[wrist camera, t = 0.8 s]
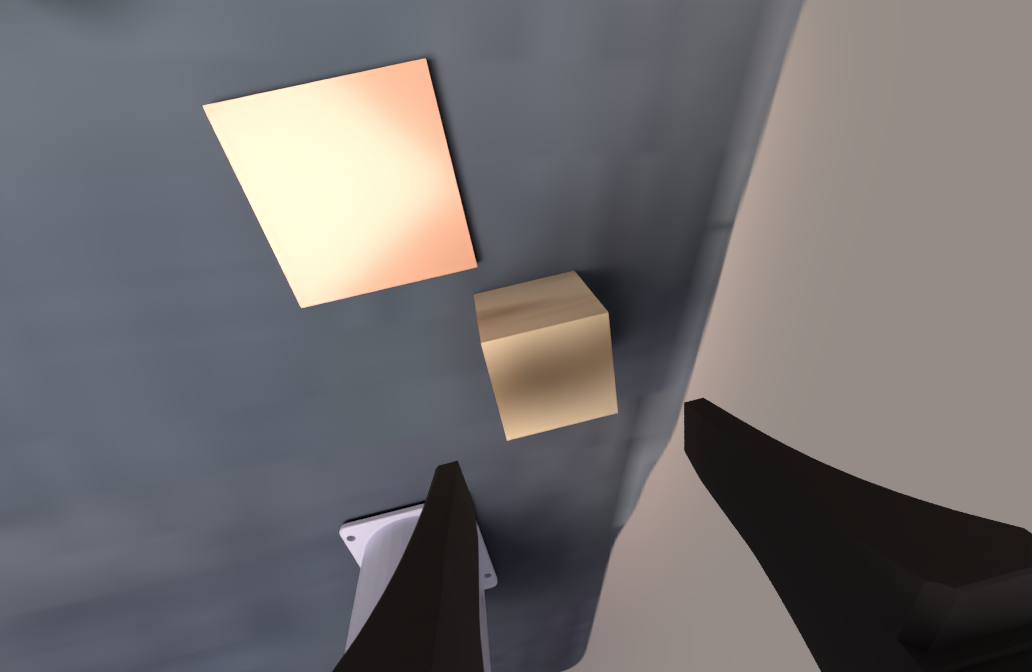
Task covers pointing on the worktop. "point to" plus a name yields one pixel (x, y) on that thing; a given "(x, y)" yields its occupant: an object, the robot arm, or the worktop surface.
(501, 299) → the block
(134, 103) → the worktop surface
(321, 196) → the coaster
